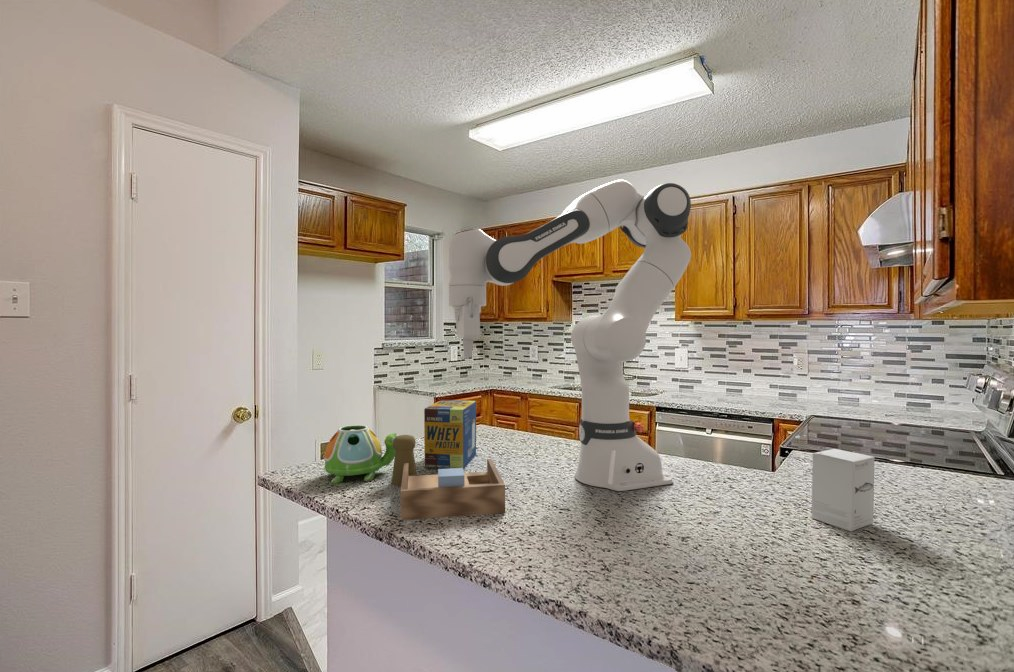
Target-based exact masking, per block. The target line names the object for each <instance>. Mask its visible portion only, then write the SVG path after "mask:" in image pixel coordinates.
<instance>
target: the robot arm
mask: <svg viewBox="0 0 1014 672" xmlns="http://www.w3.org/2000/svg"><path fill="white" fill-rule="evenodd" d="M691 204H692V201H691V197H690V194H689V193H688V191H687V190H686V189H685V188H684V187H683V186H681V185H679V184H677V183H673V182H672V183H671V182H668V183H667V182H666V183H662V184H660V185H659V184H658V186H656V187H654V188H653V189H651V190H650V191H649V192H648V193H647V195H646V196H644V195H642V194H640V193H639V192H638V191H637V189H636V188H635V186H634V185H633V184H632V183H631V182H629V181H628V180H624V179H617V180H614V181H611V182H610V181H609V182H607V183H605V184H602V185H600V186H598V187H595V188H593V189H592V190H590V191H588V192H586V193H584V194H582V195H580V196H579V197H577V198H576V199H574V200H573V201H571V202H570V203H569V204H567V206H565V207H564V208H563V209H562V211H561V212H560V214H559V215H558V216H556V217H555V218H554V219H552V220H550V221H549V222H546V223H545V224H543V225H541V226H539V227H537V228H535V229H533V230H531V231H530V232H527V233H525V234H522V235H521V234H520V235H510V236H503V237H500V238H498V239H495V238H492V236H489V235H488V234H486V233H485V232H484V231H483V230H482V229H479V228H476V229H475V228H471V229H470V228H469V229H463V230H461V231H457V232H456V233H455V234H453V236H452V237H451V239H450V241H449V249H448V270H449V274H450V276H449V277H450V278H449V283H448V306H449V307H452V308H454V309H453V310H454V319H455V320H454V321H455V326H456V333H457V337H459V338H461V339H462V347H463V357H465V358H472V357H473V348H474V340H475V339H480V337H481V320H480V319H481V318H480V317H481V316H480V315H481V314H482V307H486V306H487V283H490V284H495V285H497V286H504V287H505V286H509V285H512V284H514V283H518V282H520V281H522V280H523V279H524V278H525V277H526V276H527V275H528V274H529V273H530V271H532V269H533V267H534V266H535V265H536V263H538V261H540V260H542V259H543V258H545V257H546V256H548V255H550V254H551V253H553V252H555V251H558V250H559V249H561V248H562V247H564V246H567V245H569V244H579V245H583V244H587V243H589V242H593V241H595V240H597V239H599V238H602V237H603V236H605V235H607V234H608V233H610V232H612V231H614V230H616V229H617V228H620V230H621V231H622V233H624V234H625V235H626V237H627V238H628V239H629V240H630V242H631V243H632V244H633V245H635V246H637V247H638V248H641V249H642V248H643V249H644V250H643V252H642V254H641V255H640V257H638V259H637V260H636V261H635V263H633V265H632V266H631V267H630V269H629V270H628V271H627V272H626V274H625V275H624V277H622V279H621V280H620V281H619V283H618V284H617V285H616V287H615V291H614V296H613V298H612V299H611V301H610V303H609V306H608V308H607V309H606V310H605V311H604V312H603V313H602V314H598V315H596V314H595V315H589V316H585V317H584V318H582V319H581V320H579V321H578V322H577V323H575V325H574V326H573V328H572V330H571V333H570V342H571V344H572V346H573V349H574V351H575V357H576V362H577V367H578V374H579V378H580V379H579V380H580V386H581V417H580V419H579V427H578V428H579V442H580V449H579V457H578V462H577V467H576V471H575V474H574V478H575V479H576V480H577V481H579V482H580V483H581V484H582V483H583V484H584V485H589V486H592V487H597V488H603V489H604V488H605V489H609V490H611V491H616V492H624V491H631V490H638V489H645V488H646V489H647V488H651V487H659V486H665V485H666V486H667V485H671V484H673V476H672V475H671V474H670V473H669V472H667V471H666V470H664V469H663V465H662V460H661V457H660V454H659V453H658V452H657V450H656V449H654V448H653V447H652V446H651V445H649V444H648V443H647V442H645V441H644V440H643V439H641V438H640V437H639V436H638V435H637V432H638V433H643V432H644V430H645V425H644V424H643V423H641V422H639V421H638V422H635V421H633V420H631V419H630V388H629V384H628V381H626V378H625V375H624V372H623V368H622V365H621V363H625V362H629V361H632V360H635V359H637V358H638V357H639V356H640V355H641V354H642V353H643V351H644V350H645V347H646V342H647V337H646V332H647V330H648V328H649V326H650V324H651V321H652V320H653V317H654V316H655V314H656V313H657V311H658V310H659V308H660V307H661V305H662V304H663V303H664V301H665V300H667V298H668V297H669V295H670V293H672V291H673V290H674V288H676V286H677V284H678V283H679V281H680V280H681V278H682V277H683V275H684V273H685V271H686V270H687V268H688V266H689V264H690V261H691V258H692V251H691V248H690V247H689V244H687V243H686V241H684V239H682V237H681V236H682V234H684V233H685V232H686V231H687V230H688V220H689V216H690V213H691V207H692V206H691Z"/></svg>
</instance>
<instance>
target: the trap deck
mask: <svg viewBox="0 0 1014 672" xmlns="http://www.w3.org/2000/svg"><path fill="white" fill-rule="evenodd" d="M486 464H487V465H486V471H478V472H477V471H476V472H464V485H465V486H451V487H438V473H437V474H422V475H417V476H409V463H404V467H403V476H402V484H401V487H400V521H408V520H409V521H410V520H421V519H423V520H424V519H435V518H436V519H437V518H449V517H450V518H451V517H463V516H464V517H465V516H479V515H491V514H506V484H505V482H504V480H503V478H502V476H501V475H500V472H499V471H498V469H497V467H496V465H495V463H494V461H493V458H487V459H486Z"/></svg>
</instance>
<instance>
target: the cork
mask: <svg viewBox="0 0 1014 672" xmlns="http://www.w3.org/2000/svg"><path fill="white" fill-rule="evenodd" d="M416 443H417V442H416V438H415V437H414V436H413V435H411V434H401V435H398V436H397V437H395V439H394V440H393V447H394V449H395V457H394V459H393V468H392V475H391V486H394V487H399V488H401V484H402V476H403V467H404V463H409V476H418V473H417V467H416V466H417V465H416V458H415V452H414V449H415V447H416Z"/></svg>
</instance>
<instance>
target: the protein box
mask: <svg viewBox="0 0 1014 672" xmlns="http://www.w3.org/2000/svg"><path fill="white" fill-rule="evenodd" d="M423 412H424V413H423V415H424V417H423V418H424V421H423V424H424V432H423V433H424V434H423V435H424V438H423V439H424V441H423V442H424V468H425V469H436V468H437V469H436V470H438V469H451V468H463V470H464V469H465V468H466V467H467V465H468V464H469V463H470V462H471V461H472V460H473V459H474V458H475V456H477V401H476V400H462V399H461V400H460V399H457V400H456V399H440V400H438V401H437V402H436V401H435V403H433V404H431V405H428V406H427V407H425V408H424V410H423Z"/></svg>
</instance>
